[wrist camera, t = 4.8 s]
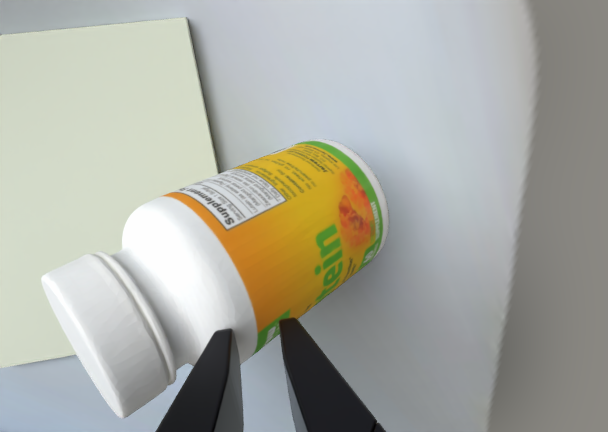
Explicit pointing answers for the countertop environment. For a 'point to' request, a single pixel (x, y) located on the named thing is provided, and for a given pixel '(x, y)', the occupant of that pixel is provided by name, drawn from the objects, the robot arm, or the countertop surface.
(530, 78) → the countertop surface
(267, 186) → the supplement bottle
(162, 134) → the sage mat
